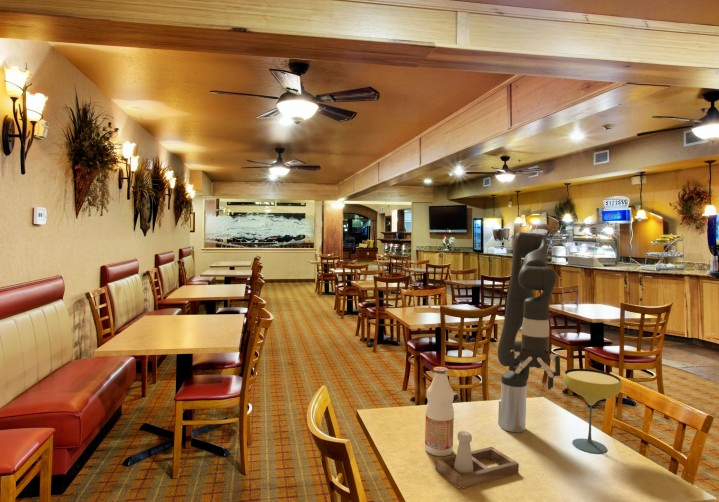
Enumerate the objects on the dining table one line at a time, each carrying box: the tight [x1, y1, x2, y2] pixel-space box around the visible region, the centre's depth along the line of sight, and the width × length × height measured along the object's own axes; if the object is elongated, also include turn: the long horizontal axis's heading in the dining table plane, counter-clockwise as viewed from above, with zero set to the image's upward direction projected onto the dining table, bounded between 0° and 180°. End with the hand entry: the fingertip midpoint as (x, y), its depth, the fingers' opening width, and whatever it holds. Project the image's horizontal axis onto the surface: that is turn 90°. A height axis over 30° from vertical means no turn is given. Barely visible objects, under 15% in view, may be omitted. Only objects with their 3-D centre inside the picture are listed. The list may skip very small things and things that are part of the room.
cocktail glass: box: [563, 368, 623, 455], centre depth 156 cm, size 18×18×25 cm
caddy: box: [435, 446, 520, 489], centre depth 138 cm, size 12×22×3 cm, turn 115°
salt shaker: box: [453, 430, 474, 475], centre depth 136 cm, size 6×6×13 cm
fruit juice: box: [424, 366, 455, 457], centre depth 151 cm, size 9×9×28 cm
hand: (533, 387), depth 134 cm, fingers open, 8 cm apart
